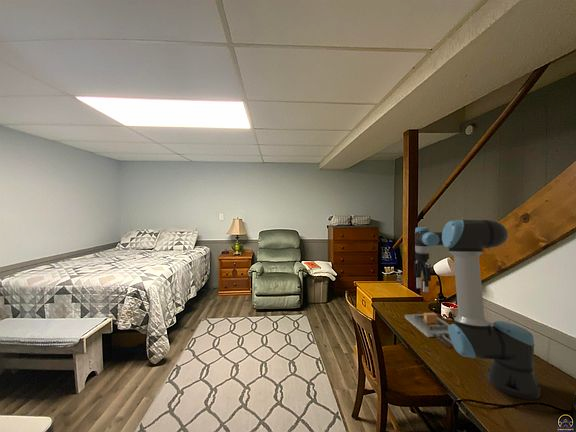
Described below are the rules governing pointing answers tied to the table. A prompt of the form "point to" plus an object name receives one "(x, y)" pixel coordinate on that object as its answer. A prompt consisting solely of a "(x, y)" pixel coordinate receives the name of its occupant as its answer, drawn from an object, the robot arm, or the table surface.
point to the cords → (445, 339)
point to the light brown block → (430, 318)
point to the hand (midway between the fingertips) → (422, 289)
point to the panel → (429, 325)
